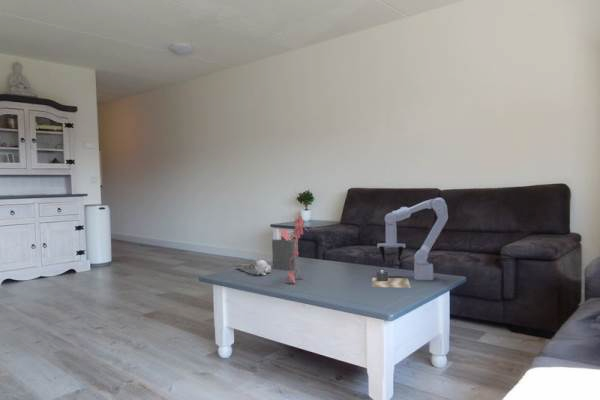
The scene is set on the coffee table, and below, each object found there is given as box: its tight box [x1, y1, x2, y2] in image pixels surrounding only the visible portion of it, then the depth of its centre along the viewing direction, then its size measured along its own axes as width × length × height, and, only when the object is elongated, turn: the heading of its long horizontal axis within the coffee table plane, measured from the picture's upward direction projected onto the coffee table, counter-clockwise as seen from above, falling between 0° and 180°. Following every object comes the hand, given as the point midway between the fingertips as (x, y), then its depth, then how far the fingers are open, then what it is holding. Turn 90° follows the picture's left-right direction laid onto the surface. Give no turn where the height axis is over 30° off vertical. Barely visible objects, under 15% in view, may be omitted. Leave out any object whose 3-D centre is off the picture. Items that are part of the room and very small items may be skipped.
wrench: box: [234, 259, 259, 276], centre depth 250 cm, size 8×2×30 cm
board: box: [371, 277, 412, 289], centre depth 212 cm, size 18×20×1 cm
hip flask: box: [271, 235, 296, 272], centre depth 257 cm, size 16×4×20 cm, turn 56°
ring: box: [375, 270, 389, 281], centre depth 218 cm, size 6×6×4 cm
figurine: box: [279, 215, 315, 286], centre depth 222 cm, size 15×26×35 cm, turn 157°
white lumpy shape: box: [255, 259, 272, 276], centre depth 243 cm, size 6×8×12 cm
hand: (391, 261), depth 225 cm, fingers open, 7 cm apart
